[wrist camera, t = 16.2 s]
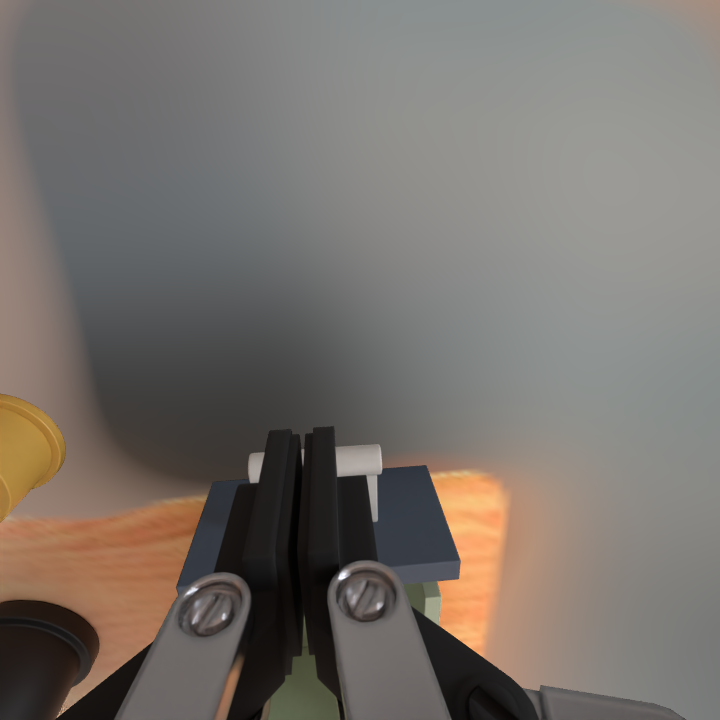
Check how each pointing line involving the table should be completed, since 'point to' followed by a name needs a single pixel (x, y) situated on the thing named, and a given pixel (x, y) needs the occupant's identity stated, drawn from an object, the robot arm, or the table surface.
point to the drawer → (394, 549)
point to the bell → (26, 450)
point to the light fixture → (41, 658)
